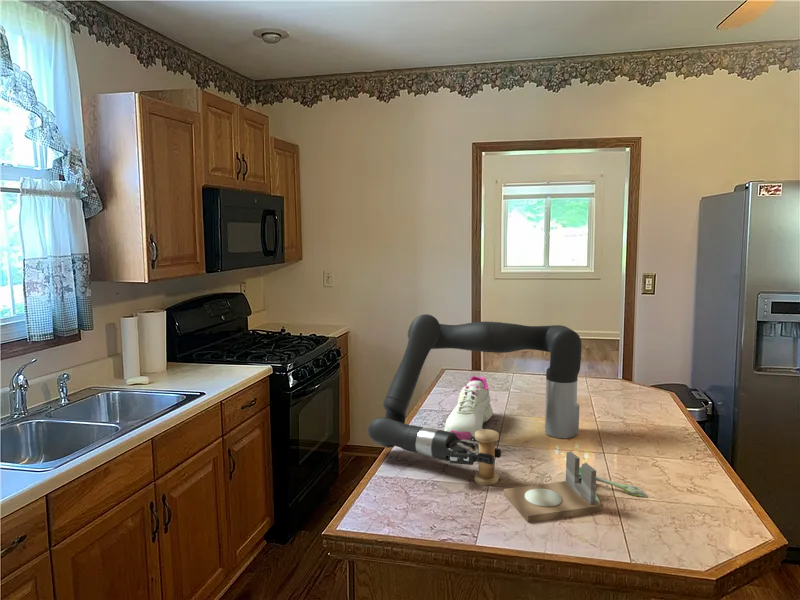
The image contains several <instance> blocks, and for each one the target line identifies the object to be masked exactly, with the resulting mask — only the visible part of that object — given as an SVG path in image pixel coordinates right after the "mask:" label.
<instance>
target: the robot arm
mask: <svg viewBox="0 0 800 600" xmlns="http://www.w3.org/2000/svg"><path fill="white" fill-rule="evenodd" d="M438 349H442V350H443V349H455V350H465V351H471V352H482V353H496V354H497V353H498V354H507V353H513V352H518V351H524V350H534V351H540V352H547V353H550V356H549V357H550V358H549V366H548V368H547V369H546V373H545V406H544V407H545V408H544V433H545V434H546V435H548V436H550V437H552V438H557V439H570V438H573V437H575V436H578V435H579V432H580V431H579V430H580V404H579V403H578V376H579V373H580V370H581V365H582V364H581V362H582V361H581V360H582V349H583V348H582V340H581V337H580V336H579V334H578V332H576V331H575V330H573V329H571V328H570V327H567V326H565V325H561V324H559V325H558V324H557V325H556V324H555V325H554V324H553V325H537V326H536V325H523V324H517V323H509V322H501V321H500V322H499V321H475V322H467V323H461V324H445V323H440V321H439V320H438V319H437V318H436V317H435V316H433V315H432V314H428V313H427V314H420V315H419V316H418V315H417V316H416V317H415V318H414V319H413V320H412V322H411V323H410V325H409V328H408V331H407V345H406V348H405V351H404V354H403V357H402V359H401V362H400V363H399V366H398V368H397V370H396V372H395V374H394V376H393V378H392V380H391V382H390V385H389V388H388V390H387V393H386V395H385V398H384V399H383V404H382V405H383V408H384V410H385V417H376V418H374V419H372V420H371V422H369V425H368V426H367V427H368V428H367V434H368V436H369V438H370V439H371V440H372V441H373V442H374V443H376V444H377V445H381V446H382V447H384V448H388V449H391V448H394V447H398V448H400V449H402V450H404V451H406V452H410V453H415V454H418V455H422V456H424V457H428V458H431V459H437V460H440V461H445V462H449V463H450V464H454V465H468V466H470V465H471V466H473V465H474V463H476V464H479V462H482V463H486V464H491V465H492V464H493V463H494V456H493V455H489V454H484V453H479V441H477V440H476V439H475V437H473V436H472V437H470V440H464V439H463V440H459V439H458V438H457V435H456V434H455V433H453V432H448V431H444V429H438V428H433V427H422V426H419V425H414V424H413V425H412V424H406V423H405V422H406V414H407V410H408V408H409V406H410V403H411V401H412V397H413V395H414V392H415V389H416V386H417V383H418V381H419V377H420V374H421V371H422V369H423V366H424V364H425V362H426V359H427V357H428V355H429V353H430V352H431V350H438ZM501 457H502V450H501V448H497V447H495V458H497V459H500V458H501Z"/></svg>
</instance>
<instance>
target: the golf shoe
mask: <svg viewBox="0 0 800 600" xmlns="http://www.w3.org/2000/svg"><path fill="white" fill-rule="evenodd" d="M493 415H494V410H493V408H492V405H491V395H490V388H489V385H488V382H487V378H486V377H485V376H476V375H472V376H471V377H470V378H469V382H468V383H467V384H466V385H464V386H463V387H462V388H461V390H460V391H459V395H458V399H457V405H456V406H455V407H454V408H453V410H452V411H451V413H450V414H449V415H448V417H447V418H446V421H445V426H444V429H443V431H448V432H453V433H455V434H456V435H457V438H458V439H459V440H463V439H464V440H470V437H472V436H473V437H475V432H476V431H478V430H482V429H484V428H483V425H484V423H487V421H489V420H490V419H491V418H492V417H493Z"/></svg>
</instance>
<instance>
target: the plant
mask: <svg viewBox="0 0 800 600" xmlns="http://www.w3.org/2000/svg"><path fill="white" fill-rule="evenodd" d="M585 463H587V464H588V462H584V463H583V464H585ZM588 465H589V464H588ZM581 480H582V465H580V466H579V482H580V483H581ZM596 482H601V483H604V484H606V485H610V486H613V487H614V488H618V489H620V490H623V491H624V492H625V493H626V494H628V495H631V496H633V495H634V497H639V498H649V497H648V496H649V495H648V494H647V493H646V492H645V491H644V490H643V489H641V488H640V487H638V486H635V485H631V484H627V483H626V484H624V483H619V482H616V481H613V480H608V479H606V478H602V477H598V476H596ZM595 501H596V502H598V503H599V504H600V505H601V504H602V503H601V501H600V499H599V497H598V495H597V493H596V494H595ZM601 506H602V505H601Z"/></svg>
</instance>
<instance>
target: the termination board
mask: <svg viewBox="0 0 800 600" xmlns="http://www.w3.org/2000/svg"><path fill="white" fill-rule="evenodd" d="M565 459H566V460H565V462H566V463H565V481H556V482H555V481H554V482H548V483H541V484H533V485H526V486H518V487H509V488H503V497H505V498H506V500H507V501H508V500H509V501H508V502H509V503H510V504H511V505H512V506H513V508H514V509H516V511H517V512H518V513H519V514H520V515H521V516H522V518H523V519H524V520H525V521H526V522H527V523H533V522H538V521H539V522H541V521H545V520H546V521H547V520H554V519H561V518H567V517H575V516H581V515H588V514H594V513H595V514H596V513H600V512H602V505H600V504H599V503H598V502H596V501H595V494H596V495H597V492H596V490H597V489H596V488H597V486H596V485H597V481H596V477H597V470H596V469H595V468H594V467H592V466H591V465H590V464H587V463H588V462H584V463H585V464H584V463H581V462H580V460H581V459H580V457H579V456H577V454H575V453H573V451H566V458H565ZM580 463H581V465H580ZM581 466H582V480H581V483H580V482H579V468H580V467H581Z"/></svg>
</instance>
